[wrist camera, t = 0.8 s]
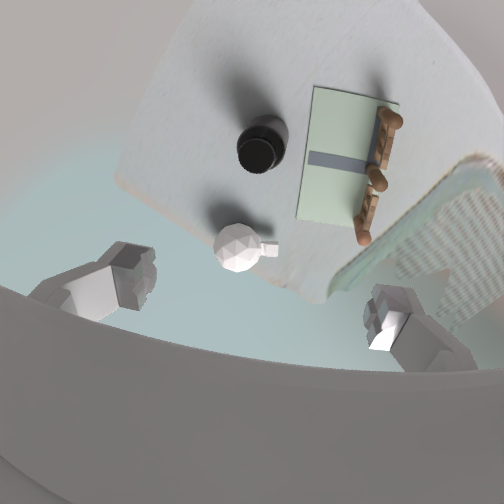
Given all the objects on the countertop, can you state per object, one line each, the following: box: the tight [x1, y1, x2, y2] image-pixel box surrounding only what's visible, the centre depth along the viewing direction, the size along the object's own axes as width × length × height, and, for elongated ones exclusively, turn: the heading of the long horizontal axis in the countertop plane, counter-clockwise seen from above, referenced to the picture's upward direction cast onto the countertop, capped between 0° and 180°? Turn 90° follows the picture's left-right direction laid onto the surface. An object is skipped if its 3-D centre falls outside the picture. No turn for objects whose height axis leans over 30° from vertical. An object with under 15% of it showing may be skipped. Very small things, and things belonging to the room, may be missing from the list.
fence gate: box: [353, 184, 379, 246], centre depth 46 cm, size 9×2×6 cm, turn 177°
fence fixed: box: [365, 106, 403, 192], centre depth 39 cm, size 12×2×7 cm, turn 177°
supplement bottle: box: [237, 115, 289, 174], centre depth 40 cm, size 7×7×12 cm
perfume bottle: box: [213, 223, 278, 272], centre depth 54 cm, size 9×9×12 cm
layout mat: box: [296, 87, 400, 228], centre depth 45 cm, size 24×14×1 cm, turn 177°
